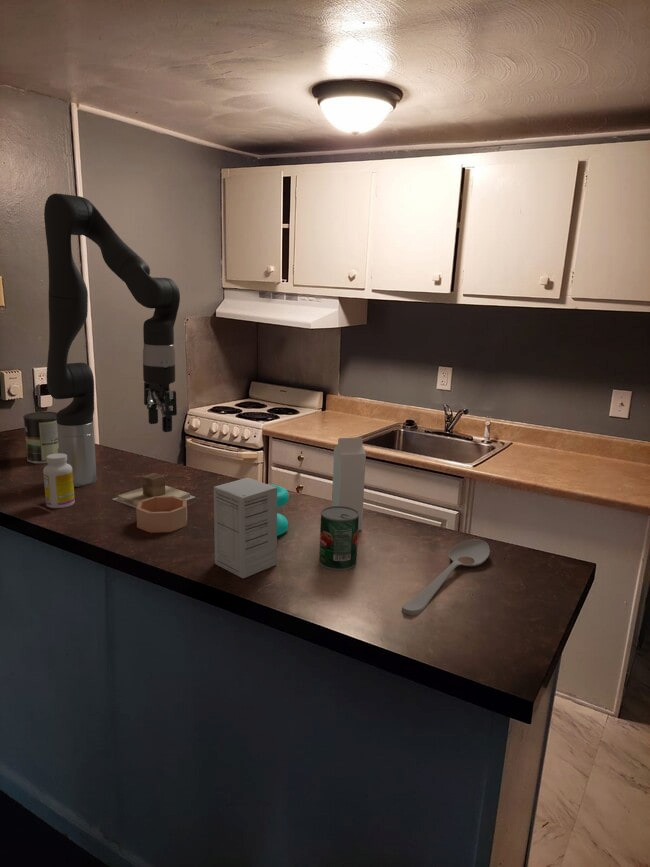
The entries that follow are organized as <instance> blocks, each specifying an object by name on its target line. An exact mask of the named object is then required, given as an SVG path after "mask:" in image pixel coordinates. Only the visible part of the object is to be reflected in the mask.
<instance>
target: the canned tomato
mask: <svg viewBox="0 0 650 867" xmlns="http://www.w3.org/2000/svg"><path fill="white" fill-rule="evenodd" d="M358 523H359V512H358V511H357V510H355V509H353V508H350V507H345V506H332V505H331V506H327V507H325V508H323V509H321V511H320V529H319V531H320V534H319V557H318V562H319V565H320V566H322V567H323V568H325V569H329V570H332V571H347V570H350V569H352V568H354V567H356V566H357V556H358V554H357V553H358V540H359V539H358V538H359V536H358V535H359V530H358Z"/></svg>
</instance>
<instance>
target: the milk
mask: <svg viewBox="0 0 650 867" xmlns="http://www.w3.org/2000/svg"><path fill="white" fill-rule="evenodd" d="M365 450H366V449H365V447H364V445H363V437H362V436H360V437H359V436H358V437H339V438H338V439H337V445H336V446H335V447H333V464H332V467H333V468H332V486H331V487H332V491H331V506H345V507H350V508H353V509H355V510H357V511H358V512H359V523H358V531H362V529H363V517H364V516H363V514H364V513H363V511H364V495H365V479H366V478H365V476H366V461H367V460H366V458H367V457H366V456H367V453H366V451H365Z"/></svg>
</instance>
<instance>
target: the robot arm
mask: <svg viewBox="0 0 650 867" xmlns="http://www.w3.org/2000/svg"><path fill="white" fill-rule="evenodd" d="M43 213H44V214H43V217H44V220H43V221H44V229H45V230H44V231H45V238H46V240H45V241H46V248H47V249H46V250H47V259H48V260H47V261H48V266H47V267H48V320H49V322H48V324H49V326H48V328H49V329H48V330H49V331H48V332H49V334H48V335H49V337H48V339H49V340H48V351H47V352H48V353H47V363H46V387H47V390H48V391H47V392H48V393H49V395H50V397H52V398H53V399H54V400H66V399H67V400H68V399H72V401H71V402H70V404H68V405H67V406H66V407H64V408H62V409H61V410H59V411H58V412H56V413H57V415H56V420H57V432H58V446H59V448H58V453H61V454H66V455H67V461H66V462H67V464H69V465H71V467H72V471H73V485H74V488H76V487H77V488H79V487H80V488H81V487H86V486H90V485H92V484H95V483H96V482H97V465H96V463H97V460H96V444H95V432H94V431H95V430H94V414H95V379H94V373H93V371H92V368H91V367H90V365H89V364H88V363H85V362H74V363H72V362H71V363H68V357H69V352H70V349H71V345H72V344H73V342H74V340H76V337H77V335H78V334H79V332H80V331H81V329H82V328H83V326H84V325H85V323H86V320H87V317H88V309H89V307H88V306H89V302H88V301H89V298H88V297H89V296H88V295H89V294H88V287H87V285H86V282H85V280H84V278H83V277H82V274H81V273H80V271H79V269H78V266H77V265H76V262H75V260H74V257H73V252H72V250H73V249H72V236H84V237H86V238H87V239H89V240H91V241H92V242H94V243H95V244H96V245H97V247H98V248H99V250H100V251H101V252H100V253H101V256H102V258H103V259H102V260H103V261H104V262H105V264H106V266H107V267H108V268H109V270H110V271H111V272H113V274H114V275H116V276H117V278H119V279H120V280H121V281H122V282H123V283H125V285H126V287H127V289H128V290H129V292H130V293H131V295H132V297H133V298H134V299H135V301H136V302H137V303H138V304H140V305H141V306H143V307H145V308H146V309H154V312H153V315H152V316H151V317H150V318H147V319H146V320H145V321H143V326H142V328H143V330H142V331H143V332H142V333H143V335H142V336H143V347H142V348H143V349H142V371H143V372H142V376H143V405H144V406H146V409H147V411H148V423H149V425H156V424H158V423H159V411H158V410H160V412H161V416H162V417H161V421H162V422H161V425H162V428H161V429H162V432H164V433H170V432H172V431H173V417H174V416H177V415H178V410H177V408H178V406H177V391H176V390H170V385H171V384H174V383H175V382H176V351H175V330H174V328H175V323H176V320H177V316H178V311H179V308H180V303H181V293H180V288H179V286H178V284H177V283H176V282H175V281H174V280H173V279H172V278H168V277H154V276H153V277H152V276H151V275H150V274H151V268H150V266H149V264H148V263H147V262H146V261H145V260H144V259H143V258H142V257H141V256H140V255H139V254H138V253H137V252H135V251H134V250H133V249H132V248H131V247H129V246H128V245H127V244H126V243H125V242H124V240H123V239H122V238H121V237H120V236H119V235H118V233H117V232H116V231H115V230H114V229H113V227H112V226H111V225H110V224H109V222H108V221H107V220H106V219H105V217H104V216H103V215H102V214H101V212H100V211H99V209H98V208H97V207H96V206H95V205H94V204H93V203H92V202H91V201H90V200H88V199H87V198H85V197H83V196H79V195H71V194H65V193H51V194H50V195H49V196H48V197H47V199H46V201H45V204H44V210H43Z"/></svg>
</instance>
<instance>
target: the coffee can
mask: <svg viewBox="0 0 650 867" xmlns="http://www.w3.org/2000/svg"><path fill="white" fill-rule="evenodd" d="M57 413H58V412H56V411H55V412H54V411H37V412H30V413H29V412H28V413H26V414H24V415H23V416H22V417H23V423H24V433H25V437H24V438H25V445H26V458H27V459H26V460H27V462H28V463H31V464H36V465H37V464H39V465H42V464H43V465H44V464H48V463H47V461H46V457H47V456H48V455H51V454H58V448H59V446H58V432H57V420H56V415H57Z"/></svg>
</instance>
